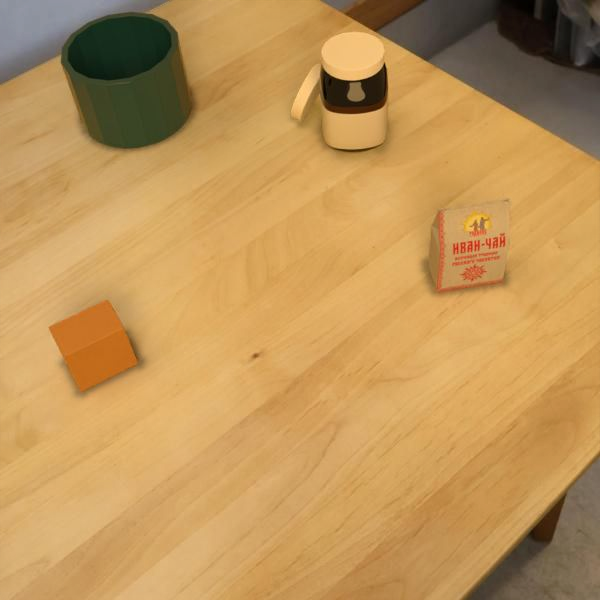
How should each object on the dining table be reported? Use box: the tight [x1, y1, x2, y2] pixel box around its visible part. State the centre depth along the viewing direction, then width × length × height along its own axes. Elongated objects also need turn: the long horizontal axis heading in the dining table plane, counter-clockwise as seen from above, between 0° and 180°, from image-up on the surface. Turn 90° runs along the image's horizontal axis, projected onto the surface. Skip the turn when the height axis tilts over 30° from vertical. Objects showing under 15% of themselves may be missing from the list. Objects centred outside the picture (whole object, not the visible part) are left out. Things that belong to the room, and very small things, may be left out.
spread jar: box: [290, 31, 389, 154], centre depth 97 cm, size 12×11×12 cm
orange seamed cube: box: [48, 298, 139, 392], centre depth 81 cm, size 6×4×6 cm, turn 120°
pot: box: [60, 11, 193, 149], centre depth 102 cm, size 14×14×10 cm
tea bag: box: [427, 198, 512, 293], centre depth 83 cm, size 4×7×10 cm, turn 98°
